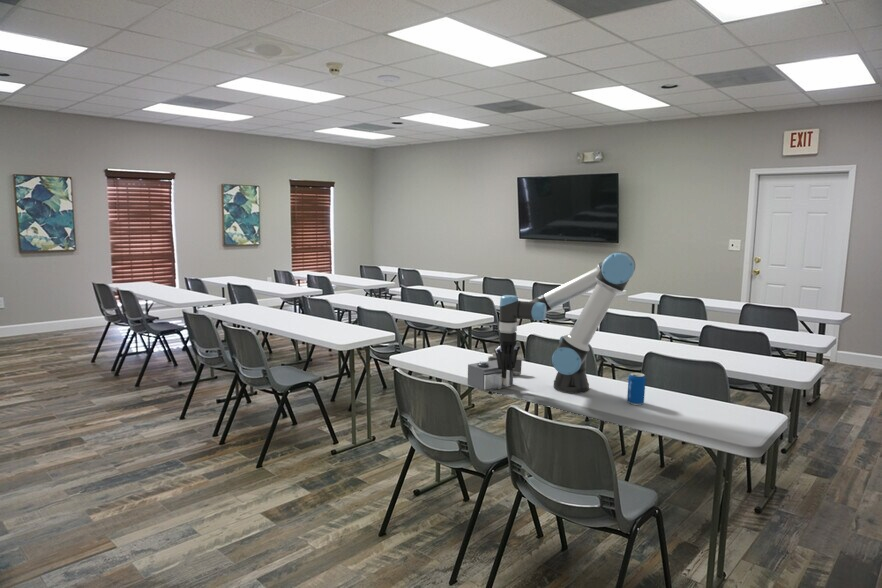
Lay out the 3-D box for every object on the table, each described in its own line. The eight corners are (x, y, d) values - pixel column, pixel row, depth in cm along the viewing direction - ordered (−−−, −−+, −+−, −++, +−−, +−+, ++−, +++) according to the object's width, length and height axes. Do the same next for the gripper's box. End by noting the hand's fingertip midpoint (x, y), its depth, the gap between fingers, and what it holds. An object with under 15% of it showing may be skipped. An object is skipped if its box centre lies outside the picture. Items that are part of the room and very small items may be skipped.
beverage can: (623, 401, 230) (625, 372, 229) (636, 400, 233) (638, 371, 231) (634, 406, 224) (636, 377, 223) (647, 404, 227) (649, 375, 225)
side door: (501, 388, 243) (501, 374, 242) (488, 391, 239) (489, 376, 238) (496, 386, 246) (496, 372, 245) (483, 389, 242) (484, 374, 241)
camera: (521, 374, 265) (522, 352, 268) (487, 371, 266) (488, 349, 269) (519, 377, 274) (521, 356, 277) (486, 374, 275) (488, 353, 278)
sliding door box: (514, 385, 251) (515, 361, 250) (484, 391, 241) (485, 366, 240) (496, 378, 261) (497, 356, 259) (467, 384, 251) (468, 360, 250)
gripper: (513, 328, 248) (511, 380, 251) (490, 331, 240) (488, 385, 243) (525, 331, 242) (523, 384, 245) (502, 334, 234) (500, 389, 237)
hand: (505, 384), depth 244 cm, fingers closed
